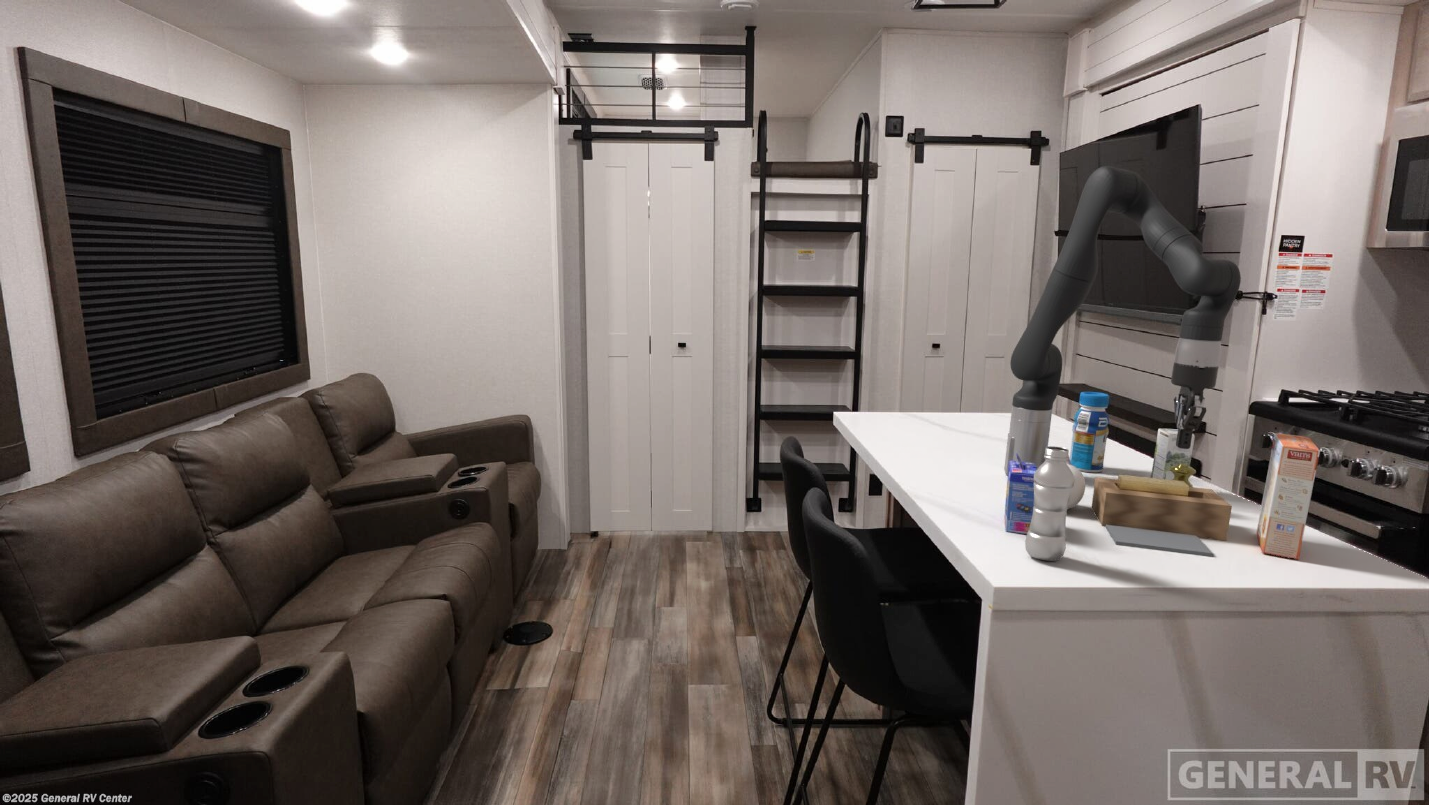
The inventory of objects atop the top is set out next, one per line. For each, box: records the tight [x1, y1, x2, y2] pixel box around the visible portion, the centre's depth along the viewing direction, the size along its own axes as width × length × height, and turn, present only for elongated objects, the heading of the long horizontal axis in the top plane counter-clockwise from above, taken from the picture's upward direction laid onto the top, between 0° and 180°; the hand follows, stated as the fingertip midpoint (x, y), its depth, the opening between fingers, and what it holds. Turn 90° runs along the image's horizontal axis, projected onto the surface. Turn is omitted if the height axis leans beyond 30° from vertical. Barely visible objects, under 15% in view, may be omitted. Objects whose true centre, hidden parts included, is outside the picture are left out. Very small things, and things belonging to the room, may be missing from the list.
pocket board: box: [1090, 476, 1233, 541], centre depth 156 cm, size 22×12×7 cm, turn 73°
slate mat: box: [1105, 525, 1214, 557], centre depth 145 cm, size 16×10×1 cm, turn 73°
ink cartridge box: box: [1004, 453, 1037, 535], centre depth 150 cm, size 10×6×14 cm, turn 161°
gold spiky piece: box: [1169, 464, 1197, 487], centre depth 166 cm, size 7×7×10 cm
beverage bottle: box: [1069, 391, 1110, 473], centre depth 197 cm, size 8×8×20 cm
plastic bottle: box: [1024, 445, 1074, 562], centre depth 133 cm, size 6×7×20 cm
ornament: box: [1066, 454, 1086, 510], centre depth 163 cm, size 10×10×12 cm
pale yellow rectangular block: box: [1117, 474, 1189, 497], centre depth 155 cm, size 12×4×6 cm, turn 73°
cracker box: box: [1256, 433, 1321, 560], centre depth 143 cm, size 14×6×21 cm, turn 148°
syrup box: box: [1150, 428, 1196, 480], centre depth 180 cm, size 6×6×14 cm
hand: (1182, 447), depth 152 cm, fingers closed
